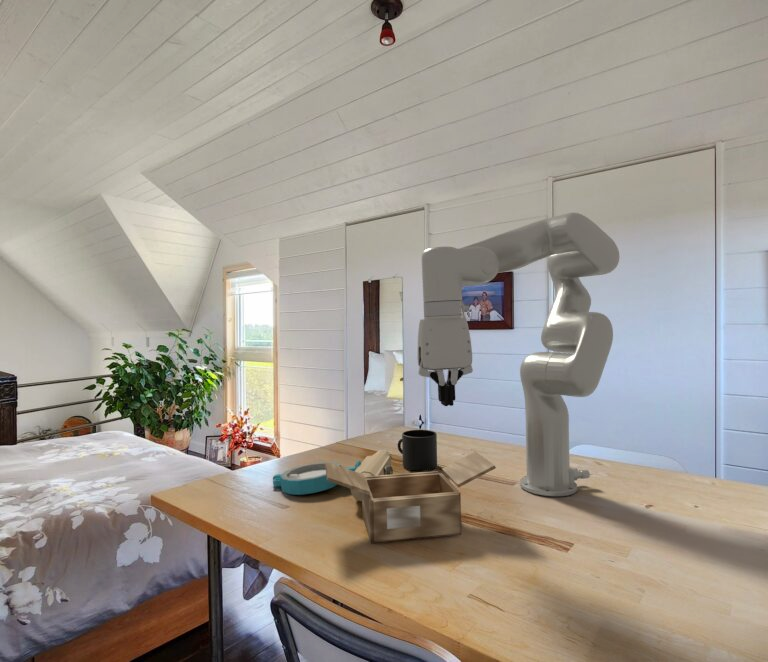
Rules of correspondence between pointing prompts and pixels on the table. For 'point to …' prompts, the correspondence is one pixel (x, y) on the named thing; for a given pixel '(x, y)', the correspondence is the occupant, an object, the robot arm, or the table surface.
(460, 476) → the flap
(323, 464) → the butterfly valve
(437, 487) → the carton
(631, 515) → the table surface
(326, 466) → the flap
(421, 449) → the mug
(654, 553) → the table surface
